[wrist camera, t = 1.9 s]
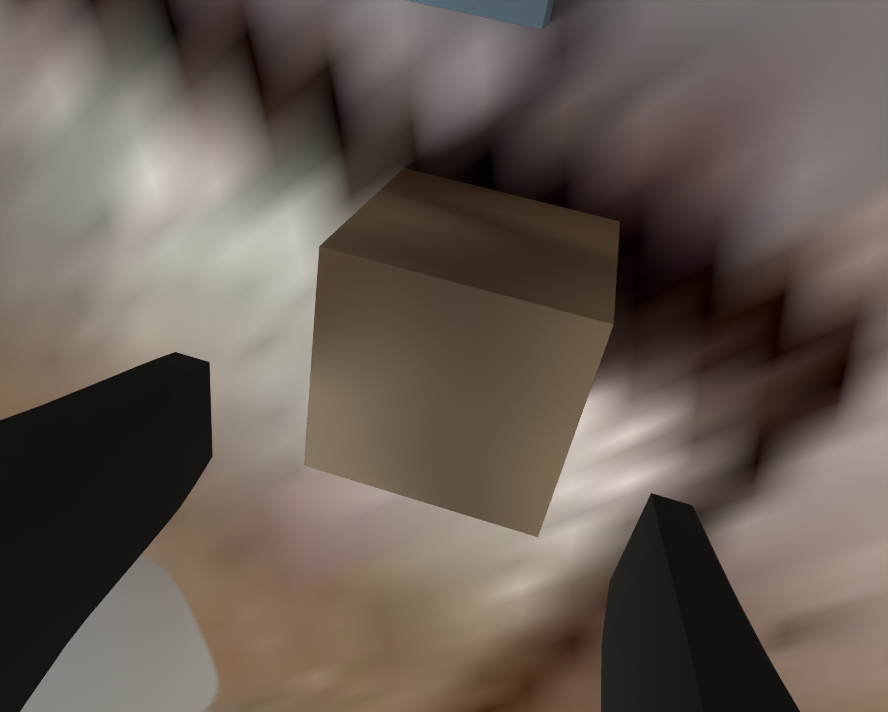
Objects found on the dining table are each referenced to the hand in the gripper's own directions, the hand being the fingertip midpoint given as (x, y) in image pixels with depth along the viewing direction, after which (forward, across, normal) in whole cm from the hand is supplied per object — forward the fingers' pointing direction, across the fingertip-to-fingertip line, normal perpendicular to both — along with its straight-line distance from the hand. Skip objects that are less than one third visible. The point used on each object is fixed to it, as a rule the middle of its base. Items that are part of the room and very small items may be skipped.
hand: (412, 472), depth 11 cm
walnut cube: (+7, 0, 0) cm, 7 cm away
